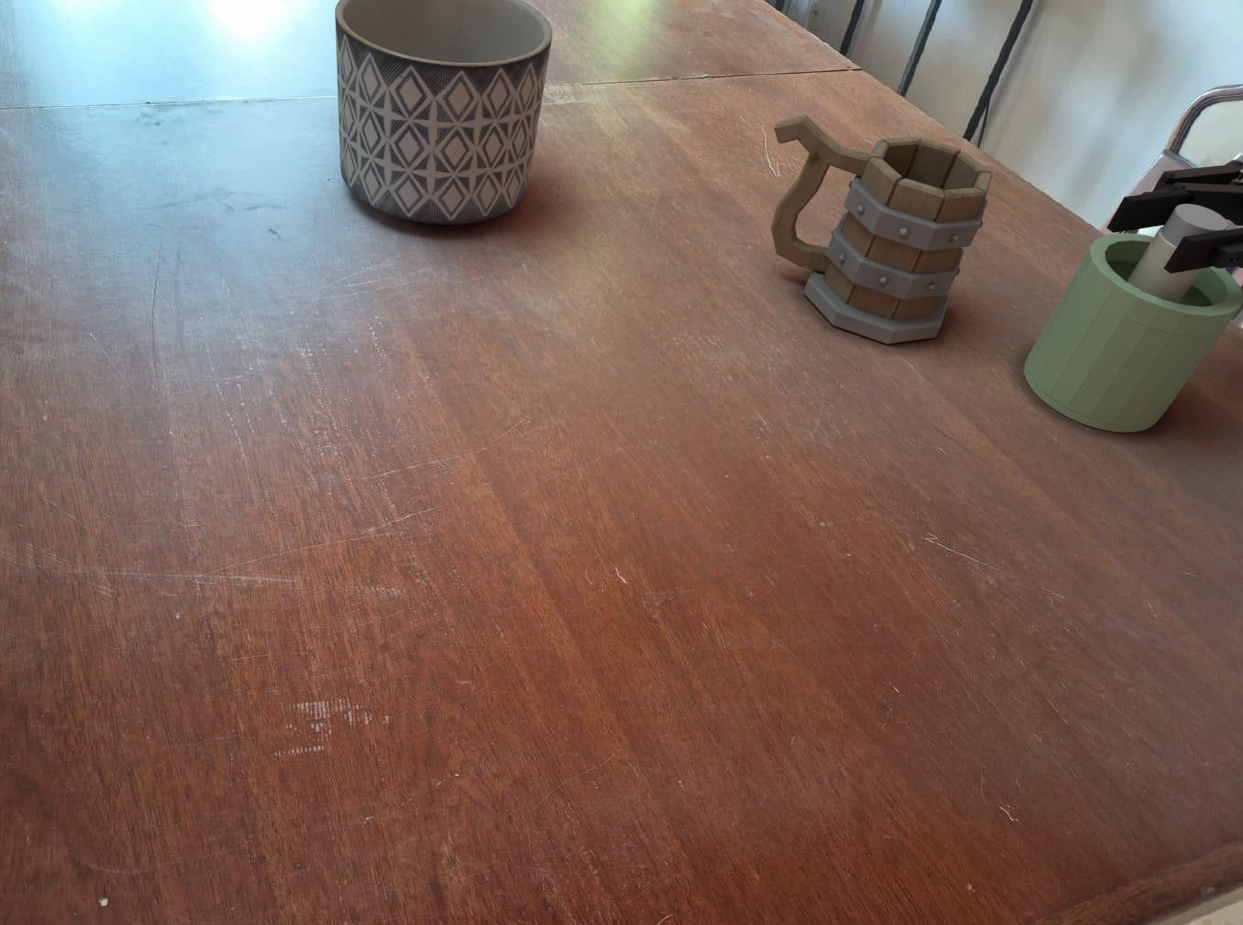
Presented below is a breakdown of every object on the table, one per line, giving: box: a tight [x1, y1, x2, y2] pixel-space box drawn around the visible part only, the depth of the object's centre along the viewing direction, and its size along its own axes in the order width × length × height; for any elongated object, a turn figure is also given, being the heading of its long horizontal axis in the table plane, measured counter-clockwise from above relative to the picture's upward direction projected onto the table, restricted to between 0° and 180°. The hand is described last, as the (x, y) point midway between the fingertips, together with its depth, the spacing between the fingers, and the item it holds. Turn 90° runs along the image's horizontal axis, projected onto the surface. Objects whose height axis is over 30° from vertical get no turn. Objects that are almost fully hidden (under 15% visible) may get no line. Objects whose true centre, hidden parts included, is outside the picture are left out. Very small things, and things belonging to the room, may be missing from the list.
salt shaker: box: [1127, 204, 1229, 304], centre depth 86 cm, size 4×4×10 cm
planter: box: [334, 0, 553, 225], centre depth 100 cm, size 19×19×16 cm
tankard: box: [770, 114, 993, 345], centre depth 96 cm, size 20×13×15 cm, turn 65°
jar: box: [1023, 232, 1243, 434], centre depth 90 cm, size 12×12×12 cm
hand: (1147, 234), depth 81 cm, fingers open, 5 cm apart
